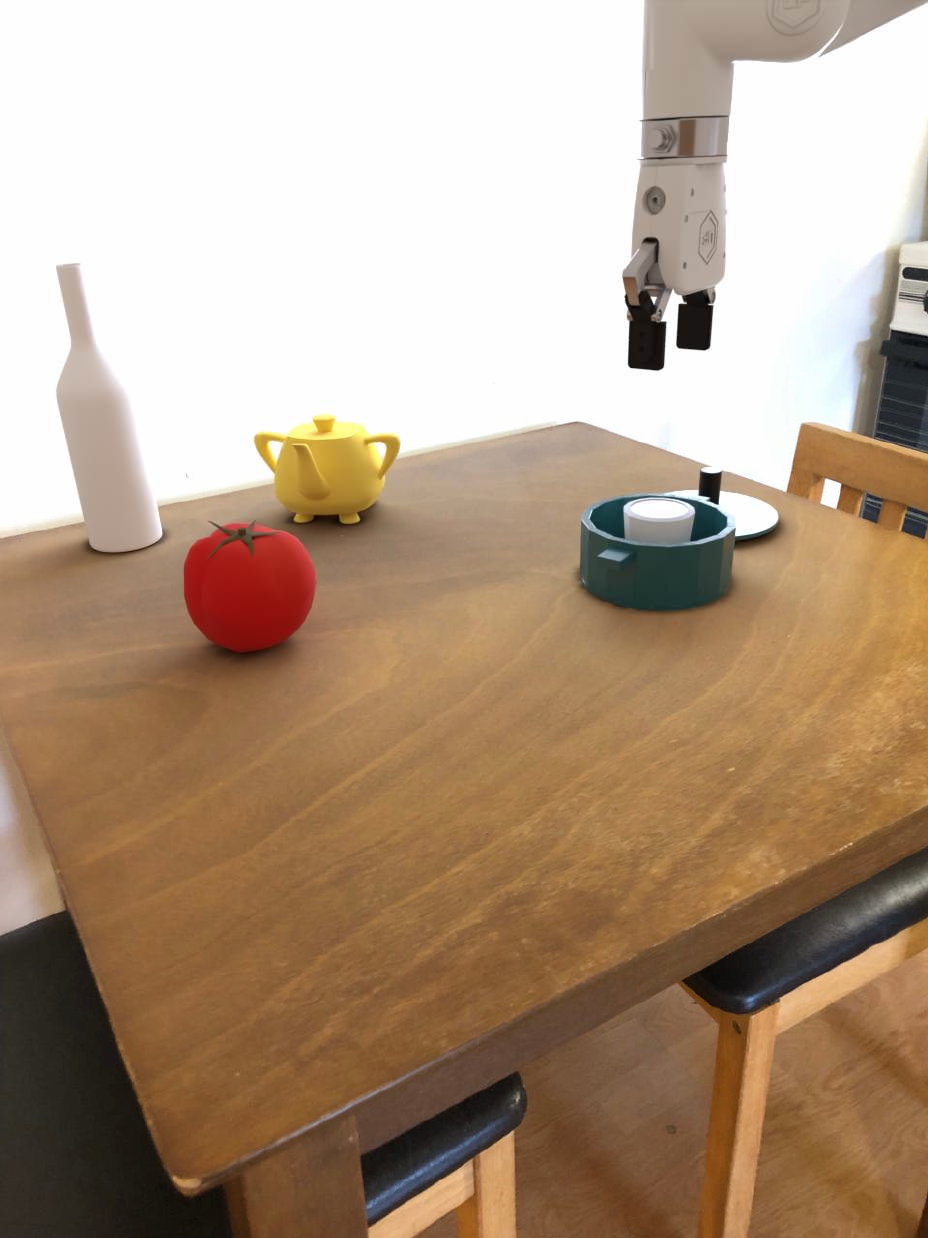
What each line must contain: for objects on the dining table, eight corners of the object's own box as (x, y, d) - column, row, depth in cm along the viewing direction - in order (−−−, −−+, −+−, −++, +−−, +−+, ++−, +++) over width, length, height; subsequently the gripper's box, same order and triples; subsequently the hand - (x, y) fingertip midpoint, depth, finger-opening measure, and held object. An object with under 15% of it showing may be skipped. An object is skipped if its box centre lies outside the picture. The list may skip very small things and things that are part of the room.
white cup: (684, 592, 89) (689, 523, 86) (613, 584, 91) (616, 516, 88) (694, 565, 95) (700, 499, 92) (627, 557, 97) (630, 493, 94)
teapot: (251, 512, 115) (238, 417, 110) (351, 486, 123) (342, 396, 118) (306, 543, 105) (294, 440, 100) (410, 513, 113) (404, 416, 108)
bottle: (145, 553, 104) (87, 268, 91) (77, 552, 105) (10, 269, 92) (173, 527, 111) (124, 259, 98) (109, 526, 112) (52, 261, 99)
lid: (796, 512, 109) (803, 462, 106) (747, 557, 98) (753, 501, 95) (672, 490, 117) (676, 443, 115) (614, 529, 106) (616, 477, 103)
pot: (761, 560, 97) (768, 501, 94) (679, 636, 82) (684, 568, 79) (634, 534, 105) (637, 478, 102) (539, 598, 90) (539, 535, 87)
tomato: (195, 619, 88) (175, 508, 84) (316, 604, 91) (304, 495, 86) (191, 681, 78) (168, 558, 73) (328, 662, 80) (315, 541, 75)
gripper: (680, 144, 68) (666, 381, 76) (765, 141, 80) (746, 345, 88) (589, 149, 72) (585, 373, 80) (684, 144, 84) (672, 339, 92)
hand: (670, 358), depth 84 cm, fingers open, 9 cm apart
